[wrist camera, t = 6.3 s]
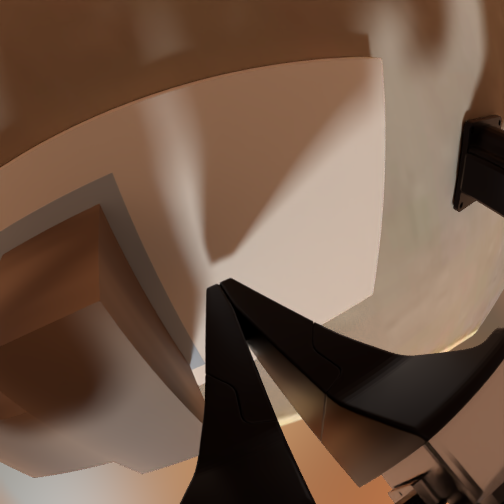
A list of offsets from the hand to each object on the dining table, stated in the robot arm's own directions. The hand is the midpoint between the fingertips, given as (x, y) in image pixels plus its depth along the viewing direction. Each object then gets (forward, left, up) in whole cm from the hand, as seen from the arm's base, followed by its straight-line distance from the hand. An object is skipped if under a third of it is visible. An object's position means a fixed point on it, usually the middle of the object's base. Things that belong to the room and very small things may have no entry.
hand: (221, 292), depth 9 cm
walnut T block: (+6, 0, -1) cm, 6 cm away
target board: (+1, 0, -2) cm, 2 cm away
